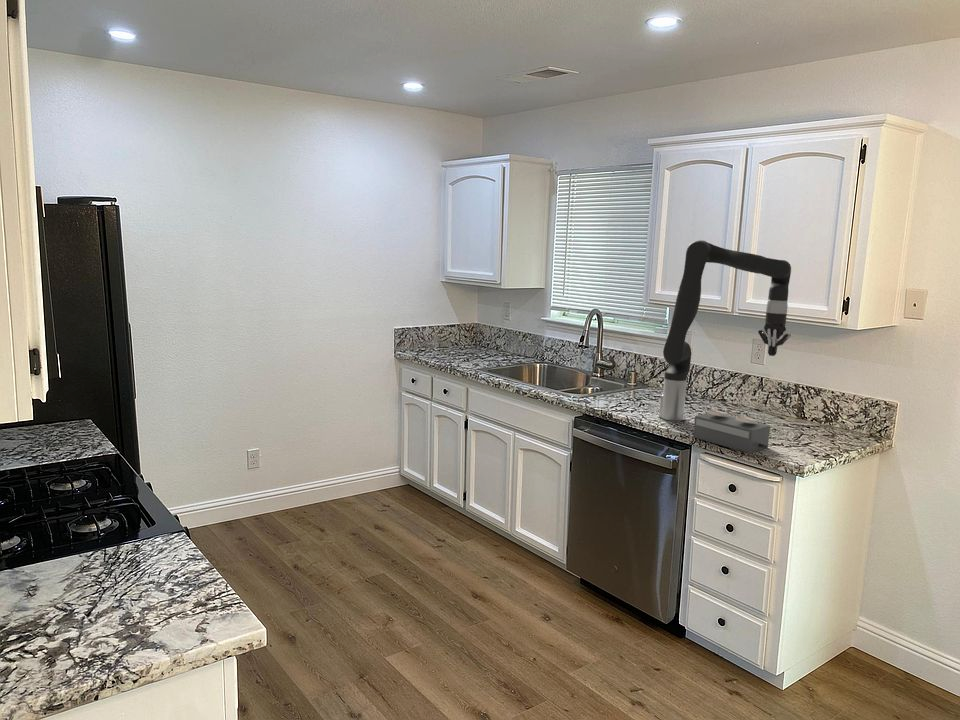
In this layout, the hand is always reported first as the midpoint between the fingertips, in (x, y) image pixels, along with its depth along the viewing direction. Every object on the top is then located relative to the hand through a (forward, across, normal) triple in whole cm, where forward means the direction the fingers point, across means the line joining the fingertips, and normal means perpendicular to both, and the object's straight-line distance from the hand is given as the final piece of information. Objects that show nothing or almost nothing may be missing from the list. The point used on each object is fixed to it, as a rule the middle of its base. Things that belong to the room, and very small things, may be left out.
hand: (772, 355), depth 282 cm
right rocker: (+21, +7, -26) cm, 34 cm away
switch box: (+31, +2, -26) cm, 41 cm away
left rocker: (+21, -5, -26) cm, 34 cm away
